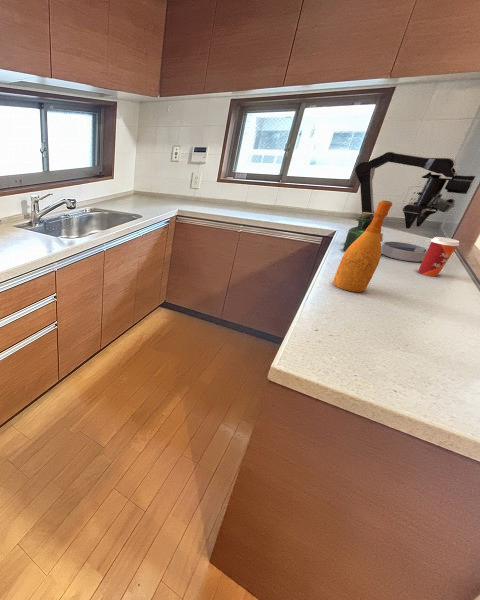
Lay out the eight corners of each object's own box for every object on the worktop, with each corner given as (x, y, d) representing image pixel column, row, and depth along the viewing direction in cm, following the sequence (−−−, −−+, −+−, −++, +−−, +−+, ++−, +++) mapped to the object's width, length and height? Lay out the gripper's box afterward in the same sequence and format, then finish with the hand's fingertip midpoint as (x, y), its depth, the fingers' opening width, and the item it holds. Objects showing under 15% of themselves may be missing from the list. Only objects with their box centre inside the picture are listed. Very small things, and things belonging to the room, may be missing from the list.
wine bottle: (367, 295, 109) (411, 205, 95) (332, 288, 114) (369, 201, 100) (363, 285, 117) (403, 200, 103) (330, 279, 121) (364, 196, 107)
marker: (388, 246, 149) (423, 249, 139) (391, 245, 150) (427, 247, 140) (387, 252, 150) (422, 256, 140) (390, 251, 151) (425, 254, 141)
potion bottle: (355, 255, 146) (373, 215, 138) (336, 250, 153) (352, 211, 145) (365, 253, 150) (383, 214, 141) (346, 248, 156) (362, 210, 148)
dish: (414, 264, 138) (420, 254, 135) (371, 253, 150) (375, 243, 148) (431, 259, 144) (437, 249, 142) (388, 248, 157) (393, 239, 155)
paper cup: (436, 278, 124) (456, 243, 118) (410, 271, 130) (428, 237, 124) (444, 275, 127) (464, 240, 121) (419, 268, 133) (437, 235, 127)
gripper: (447, 195, 125) (426, 234, 133) (467, 192, 133) (446, 230, 140) (411, 190, 134) (393, 227, 141) (432, 188, 141) (414, 223, 149)
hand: (412, 227), depth 143 cm, fingers open, 9 cm apart
